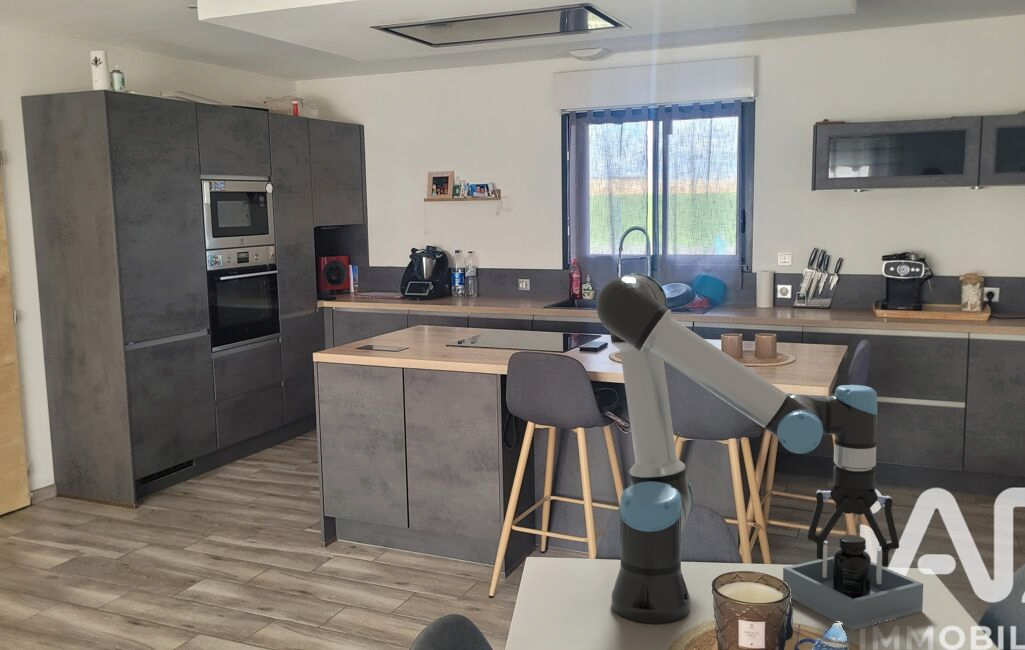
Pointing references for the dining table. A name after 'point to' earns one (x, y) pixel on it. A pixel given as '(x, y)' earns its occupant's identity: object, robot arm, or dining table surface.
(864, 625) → the open box
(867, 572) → the supplement bottle
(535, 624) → the dining table surface
